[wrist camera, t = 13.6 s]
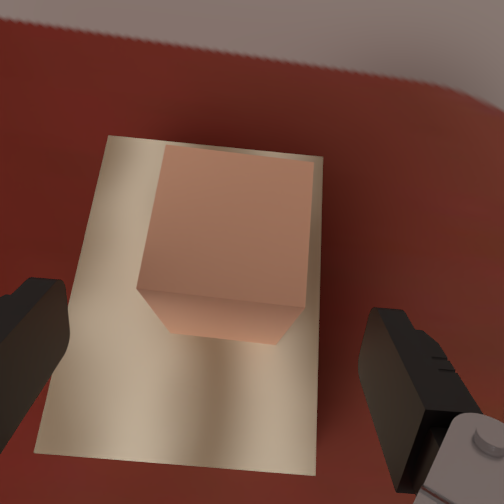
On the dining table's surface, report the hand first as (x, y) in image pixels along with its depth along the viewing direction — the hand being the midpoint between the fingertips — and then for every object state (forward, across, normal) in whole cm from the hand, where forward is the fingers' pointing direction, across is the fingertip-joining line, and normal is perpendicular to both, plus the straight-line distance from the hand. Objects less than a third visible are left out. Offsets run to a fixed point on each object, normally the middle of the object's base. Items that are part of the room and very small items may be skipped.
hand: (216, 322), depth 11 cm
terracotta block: (+9, 0, +4) cm, 10 cm away
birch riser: (+12, +1, +7) cm, 14 cm away
